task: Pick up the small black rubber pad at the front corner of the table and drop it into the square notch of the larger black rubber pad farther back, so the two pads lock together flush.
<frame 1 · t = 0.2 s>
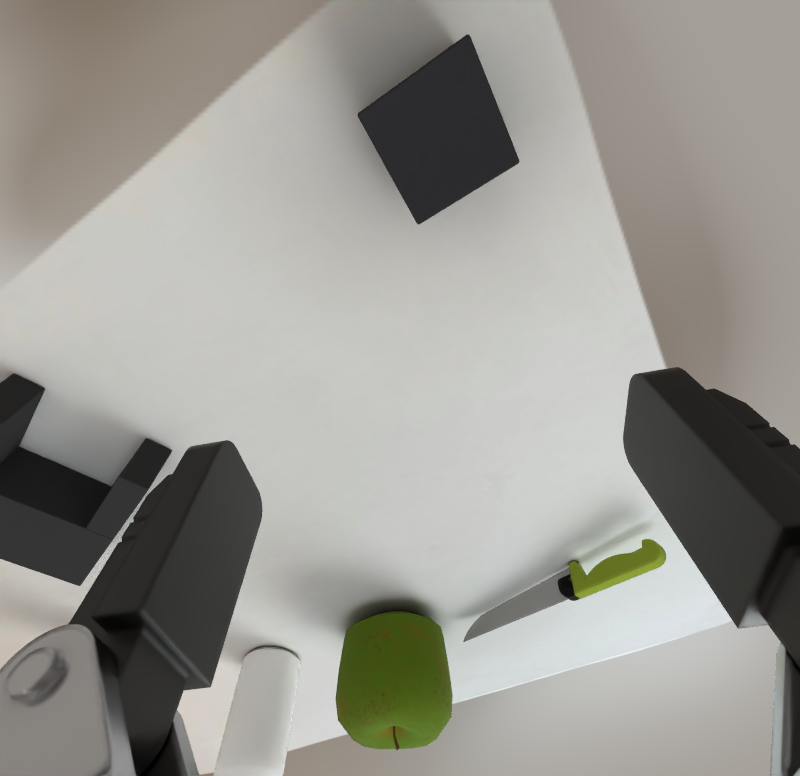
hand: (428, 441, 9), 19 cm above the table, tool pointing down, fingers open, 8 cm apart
apple: (393, 623, 47), on the table
base pad: (66, 471, 34), on the table
pad piece: (433, 133, 22), on the table
kitchen knife: (544, 578, 43), on the table
can: (273, 657, 51), on the table
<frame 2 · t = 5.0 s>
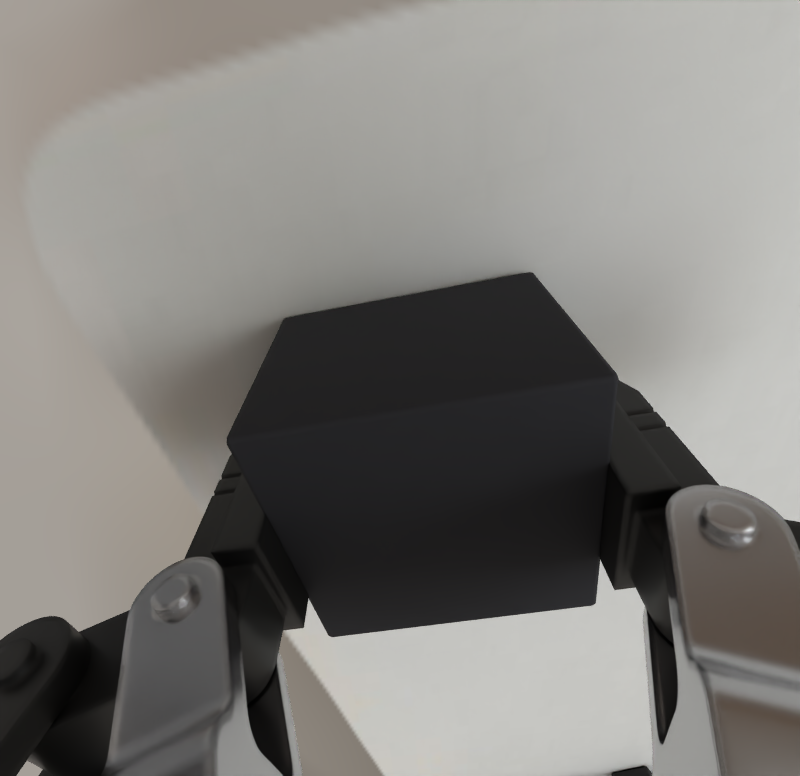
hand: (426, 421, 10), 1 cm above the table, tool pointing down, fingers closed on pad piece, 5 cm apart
pad piece: (424, 396, 10), on the table, touching gripper
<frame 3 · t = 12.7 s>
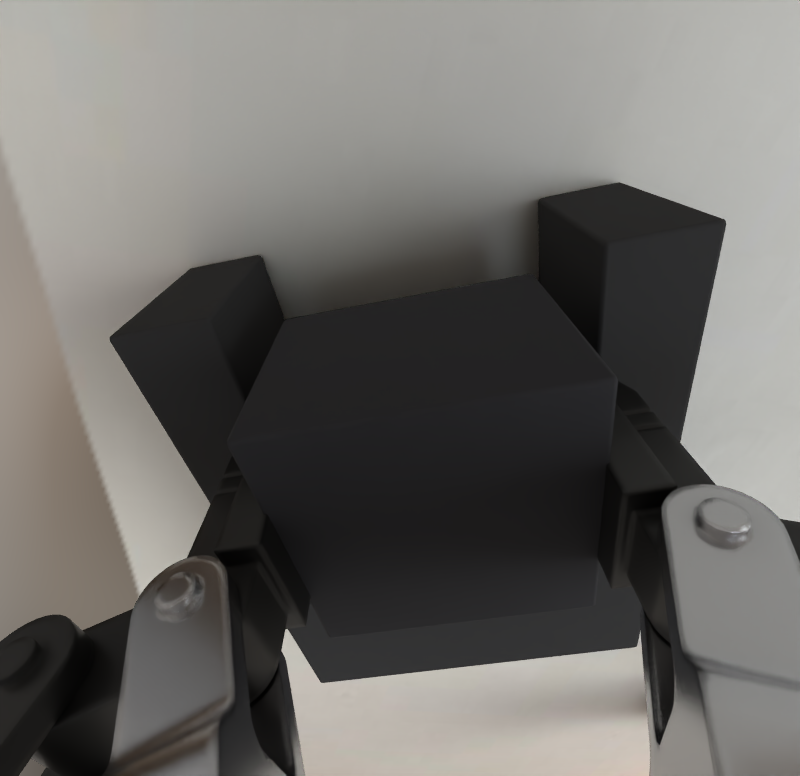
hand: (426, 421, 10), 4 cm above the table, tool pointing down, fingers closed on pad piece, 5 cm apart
base pad: (435, 438, 15), on the table
pad piece: (424, 398, 10), point 3 cm above the table, touching gripper
when the fingers open (5 cm above the table, at t = 20.2 s): pad piece drops 4 cm, on the table.
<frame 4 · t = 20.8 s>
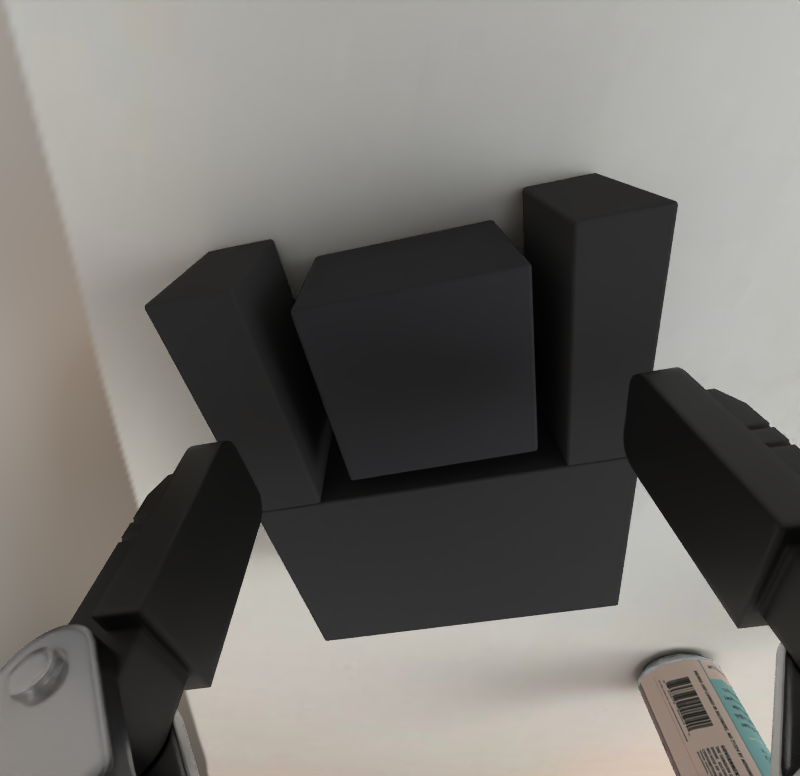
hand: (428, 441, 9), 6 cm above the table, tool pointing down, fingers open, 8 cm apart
base pad: (431, 412, 16), on the table
pad piece: (418, 320, 14), on the table
beer can: (671, 664, 27), on the table
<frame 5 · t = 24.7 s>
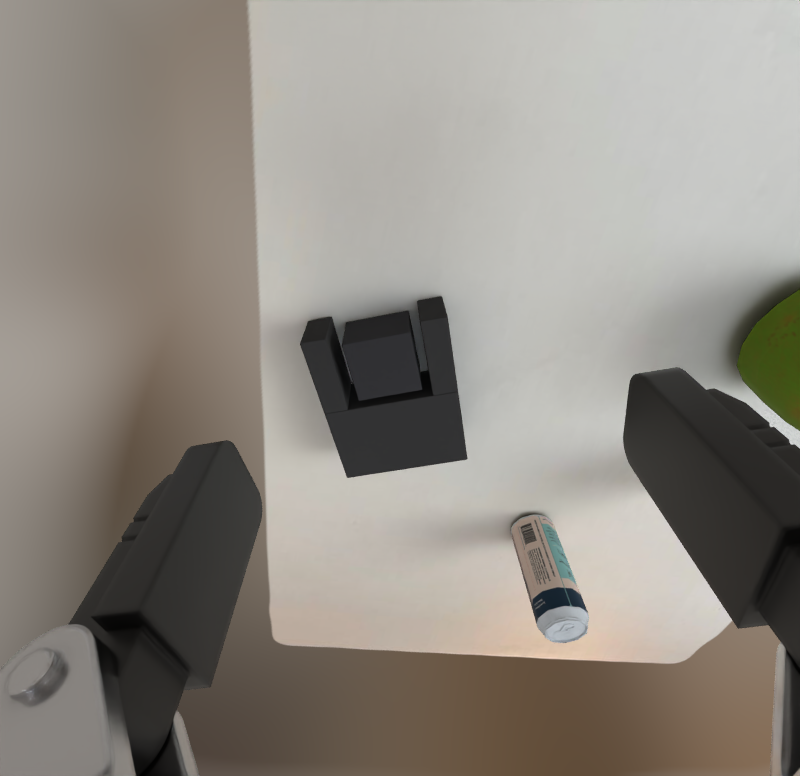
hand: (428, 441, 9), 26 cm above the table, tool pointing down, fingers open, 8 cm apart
apple: (788, 330, 37), on the table
base pad: (391, 380, 39), on the table
pad piece: (383, 344, 37), on the table
beer can: (530, 524, 50), on the table
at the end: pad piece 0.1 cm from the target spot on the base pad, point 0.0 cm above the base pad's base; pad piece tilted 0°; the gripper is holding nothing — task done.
